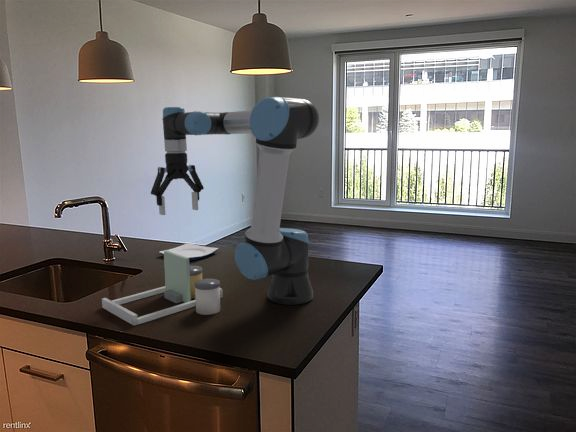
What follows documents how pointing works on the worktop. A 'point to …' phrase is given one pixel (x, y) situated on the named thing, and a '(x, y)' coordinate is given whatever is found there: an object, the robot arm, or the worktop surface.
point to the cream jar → (207, 296)
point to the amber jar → (194, 278)
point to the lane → (134, 320)
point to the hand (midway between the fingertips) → (179, 212)
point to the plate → (192, 251)
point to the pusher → (177, 277)
